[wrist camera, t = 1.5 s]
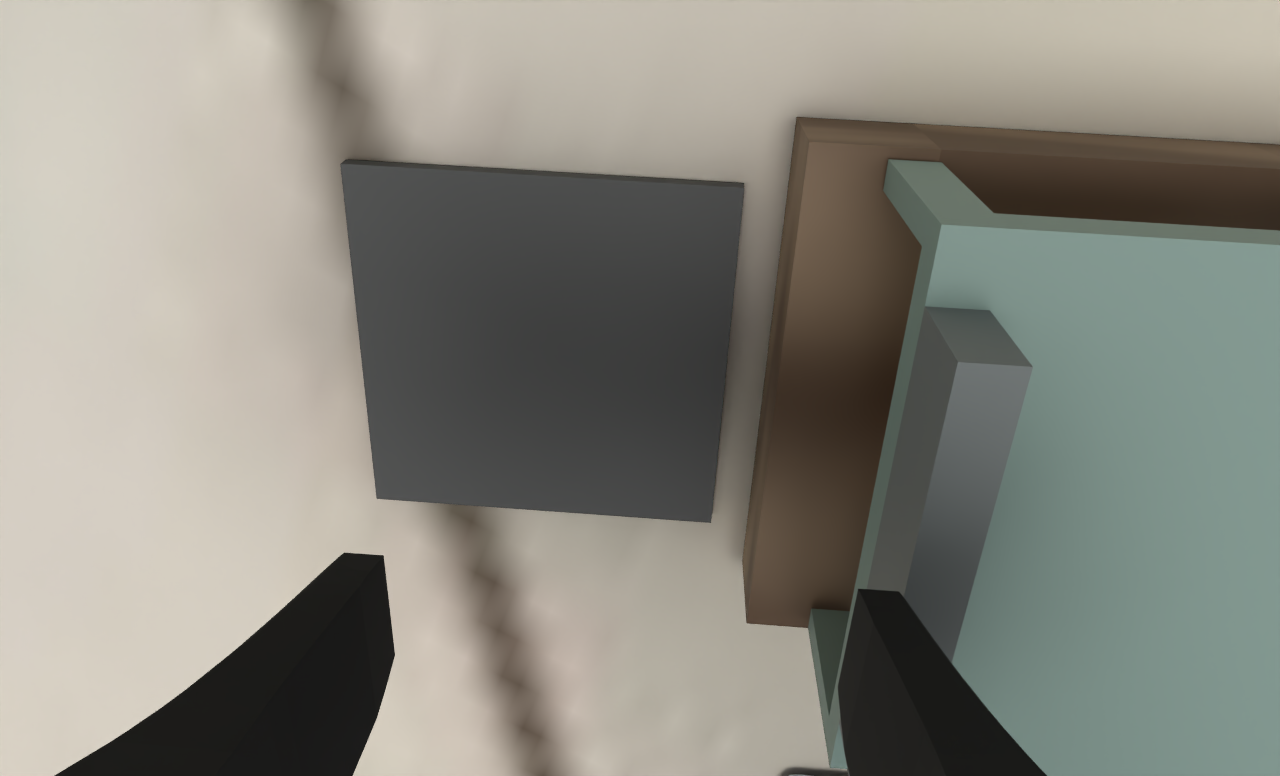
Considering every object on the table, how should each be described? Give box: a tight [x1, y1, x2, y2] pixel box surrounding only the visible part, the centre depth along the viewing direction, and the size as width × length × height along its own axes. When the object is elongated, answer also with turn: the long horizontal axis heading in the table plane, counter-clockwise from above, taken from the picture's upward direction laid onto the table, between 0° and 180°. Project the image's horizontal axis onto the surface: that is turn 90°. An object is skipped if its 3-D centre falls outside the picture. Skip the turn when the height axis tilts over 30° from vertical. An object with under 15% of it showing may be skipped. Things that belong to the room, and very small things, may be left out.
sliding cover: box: [808, 159, 1280, 776], centre depth 17 cm, size 12×9×6 cm
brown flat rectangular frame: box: [742, 117, 1280, 628], centre depth 21 cm, size 12×22×2 cm, turn 88°
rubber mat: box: [340, 160, 744, 523], centre depth 22 cm, size 9×9×1 cm
